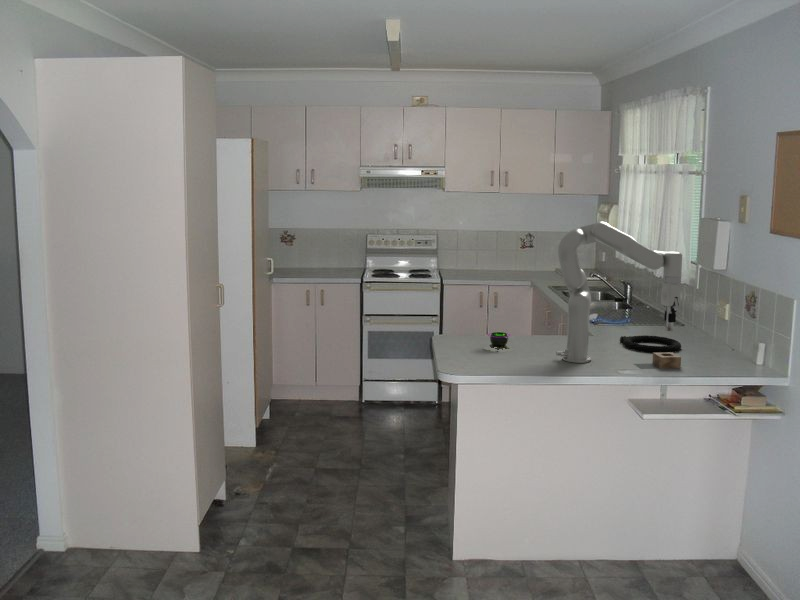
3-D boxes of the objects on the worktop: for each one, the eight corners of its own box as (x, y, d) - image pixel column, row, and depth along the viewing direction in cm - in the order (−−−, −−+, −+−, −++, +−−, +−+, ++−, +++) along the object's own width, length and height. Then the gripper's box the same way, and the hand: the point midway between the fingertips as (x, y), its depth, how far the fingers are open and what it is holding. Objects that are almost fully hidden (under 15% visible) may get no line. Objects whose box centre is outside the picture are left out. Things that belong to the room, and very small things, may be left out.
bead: (660, 368, 344) (661, 357, 343) (652, 363, 353) (653, 352, 352) (680, 368, 345) (681, 357, 344) (671, 363, 354) (672, 352, 353)
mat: (640, 369, 343) (640, 368, 343) (632, 364, 352) (633, 363, 352) (682, 369, 345) (682, 368, 345) (673, 364, 354) (673, 363, 354)
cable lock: (669, 349, 369) (609, 340, 388) (668, 357, 369) (608, 347, 388) (689, 339, 390) (632, 331, 409) (689, 347, 390) (631, 338, 409)
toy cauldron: (520, 350, 379) (521, 328, 377) (494, 353, 372) (495, 331, 371) (502, 344, 392) (503, 323, 390) (477, 347, 386) (477, 325, 384)
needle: (667, 331, 345) (669, 299, 342) (664, 329, 348) (666, 298, 345) (674, 331, 345) (675, 299, 343) (671, 329, 348) (672, 298, 346)
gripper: (655, 277, 350) (654, 318, 353) (671, 282, 334) (669, 325, 337) (672, 277, 351) (670, 318, 354) (688, 282, 335) (686, 324, 338)
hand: (669, 321), depth 346 cm, fingers closed on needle, 3 cm apart
